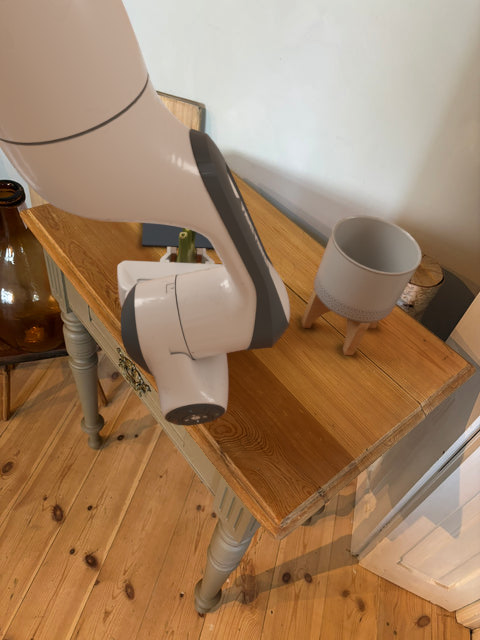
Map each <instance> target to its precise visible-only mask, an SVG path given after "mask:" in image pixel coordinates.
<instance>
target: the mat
mask: <svg viewBox="0 0 480 640" xmlns="http://www.w3.org/2000/svg"><path fill="white" fill-rule="evenodd" d="M181 232H183V228H182V227H176V226H170V225H163V224H154V223H142V236H141V237H142V239H141V241H142V242H141V246H142V247H152V248H153V247H155V248H156V247H157V248H167V247H177V249H179V234H180V233H181ZM196 248H206V250H215V249H214V248H213V246H212V244H211V242H210V241H209V240H208V239H207V238H206V237H205V236H203V235H202V234H200V233H198V232H196V236H195V249H196Z"/></svg>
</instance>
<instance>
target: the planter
mask: <svg viewBox="0 0 480 640" xmlns="http://www.w3.org/2000/svg"><path fill="white" fill-rule="evenodd" d="M421 261H422V250H421V247H420V245H419V243H418V242H417V240H416V239H415V238H414V237H413V236H412V235H411V234H410V233H409V232H408V231H407V230H405V229H404V228H403V227H401V226H400V225H397V224H395V223H393V222H392V221H389V220H386V219H384V218H380V217H377V216H373V215H367V214H366V215H364V214H355V215H349V216H346V217H343V218H341V219H340V220H338V221H337V222H336V223H334V226H333V228H332V230H331V233H330V236H329V238H328V241H327V243H326V247H325V249H324V252H323V255H322V257H321V260H320V263H319V266H318V268H317V271H316V273H315V277H314V279H313V288H312V291H311V293H310V296H309V299H308V302H307V305H306V307H305V310H304V312H303V315H302V318H301V320H300V322H301V326H302V328H307V329H310V328H311V327H312V325H313V323H314V322H315V321H316V320H317V319H319V318H320V317H321V316H323V315H325V314H327V313H329V312H333V313H334V314H336V315H338V316H339V317H341V318H344V319H346V335H345V339H344V344H343V347H342V352H343V355H344V356H354V355H355V352H356V350H357V349H358V347H359V345H360V343H361V341H362V340H363V338H364V335H365V334H366V332H367V330H368V329H376V327H378V324H379V322H380V321H382V320H384V319H385V318H388V317H389V315H390V314H391V313H392V312H393V310H394V309H395V307H396V306H397V303H398V301H399V300H400V298H401V296H402V295H403V293H404V291H405V290H406V288H407V287H408V284H409V283H410V281H411V279H412V277H413V276H414V274H415V272H416V271H417V269H418V267H419V266H420V264H421Z"/></svg>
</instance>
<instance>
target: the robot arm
mask: <svg viewBox="0 0 480 640" xmlns="http://www.w3.org/2000/svg"><path fill="white" fill-rule="evenodd" d="M0 149H1V151H2V152H3V154H4V155H5V157H6V158H7V160H8V161H9V163H10V164H11V166H12V167H13V168H14V169H15V171H16V172H17V173H18V175H19V176H20V177H21V178H22V180H23V181H24V182H25V183H26V184H27V185H28V186H29V187H30V188H31V189H32V190H33V191H34V192H35V193H36V194H37V195H38V196H40V198H42V199H43V200H44V201H46V202H47V203H49V204H50V205H52V206H53V207H55V208H56V209H59V210H60V211H63V212H65V213H67V214H71V215H74V216H77V217H80V218H83V219H88V220H93V221H99V222H107V223H142V224H143V223H154V224H163V225H170V226H176V227H182V228H186V229H190V230H193V231H195V232H198V233H200V234H202V235H203V236H205V237H206V238H207V239H208V240H209V241H210V242H211V244H212V246H213V248H214V249H213V250H214V251H215V253H216V255H217V257H218V258H219V261H220V262H221V263H222V264H220V263H215V260H213V259H212V258H211V256H210V255H208V254H207V249H206V248H195V251H196V263H173V262H176V257H177V254H178V248H177V247H166V253H165V254H164V255H163V256H162V257H160V258H159V261H148V260H147V261H145V260H122V261H121V262H120V263H118V264H117V267H116V273H117V274H116V277H117V288H118V289H117V292H118V300H119V306H120V308H121V310H120V335H121V341H122V345H123V348H124V350H125V352H126V354H127V355H128V357H129V358H130V360H132V361H133V362H134V364H136V365H137V366H139V367H140V368H141V369H142V370H143V371H145V372H146V373H147V374H149V375H150V376H152V377H154V381H155V385H156V388H157V394H158V400H159V406H160V407H159V408H160V412H161V415H162V417H163V419H164V420H165V421H166V422H167V423H170V424H172V425H176V426H186V427H189V426H190V427H191V426H198V425H204V424H206V423H207V424H208V423H210V422H214V421H216V420H217V419H219V418H221V417H222V416H224V414H226V412H227V410H228V402H229V364H228V355H227V354H229V353H234V352H240V351H245V352H246V351H254V350H264V349H271V348H273V347H274V346H275V345H276V344H277V343H278V341H279V340H280V339H281V338H282V337H283V335H284V334H285V332H286V331H287V330H288V328H289V326H290V319H291V304H290V299H289V295H288V291H287V288H286V285H285V283H284V280H283V279H282V277H281V276H280V274H279V272H278V271H277V270H276V269H275V267H274V264H273V262H272V261H271V259H270V257H269V255H268V253H267V251H266V249H265V246H264V243H263V241H262V239H261V237H260V235H259V232H258V229H257V228H256V225H255V223H254V220H253V218H252V216H251V214H250V211H249V209H248V207H247V204H246V202H245V199H244V196H243V195H242V192H241V190H240V188H239V186H238V183H237V181H236V180H235V177H234V176H233V173H232V171H231V169H230V167H229V165H228V162H227V161H226V159H225V157H224V155H223V153H222V152H221V150H220V147H218V145H217V144H216V142H215V141H214V140H213V139H212V137H211V136H210V135H209V134H208V133H206V132H203V131H200V130H198V129H194V128H190V127H188V126H187V125H186V124H184V123H183V122H182V121H181V120H179V118H178V117H177V116H175V115H174V113H173V112H172V111H171V110H170V109H169V108H168V107H167V105H166V104H165V103H164V101H162V98H161V97H160V96H159V94H158V92H157V90H156V88H155V86H154V85H153V81H152V79H151V77H150V74H149V71H148V67H147V64H146V61H145V58H144V55H143V53H142V50H141V47H140V44H139V41H138V37H137V35H136V32H135V29H134V28H133V24H132V22H131V19H130V17H129V14H128V11H127V9H126V7H125V5H124V2H123V0H0Z"/></svg>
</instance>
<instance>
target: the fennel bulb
mask: <svg viewBox="0 0 480 640" xmlns="http://www.w3.org/2000/svg"><path fill="white" fill-rule="evenodd" d="M195 236H196V232H195V231H193V230H190V229H186V228H183V232H181V233H180V234H179V248H178V249H177V257H176V262H173V263H196V248H195Z"/></svg>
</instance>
